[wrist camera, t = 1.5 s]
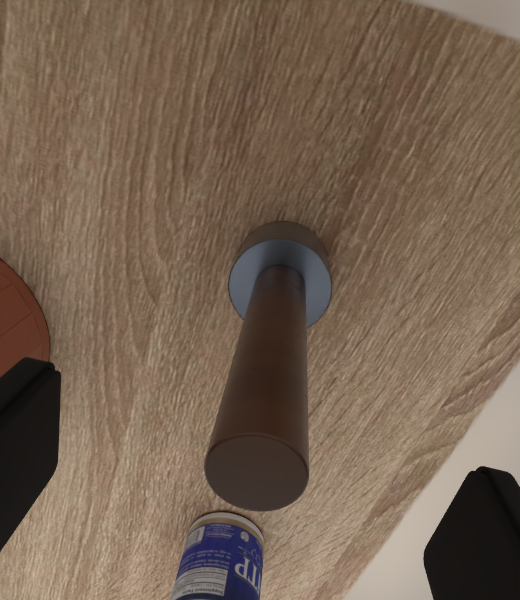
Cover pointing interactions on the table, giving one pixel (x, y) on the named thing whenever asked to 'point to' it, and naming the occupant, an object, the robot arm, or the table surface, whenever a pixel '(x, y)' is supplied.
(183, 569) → the pill bottle
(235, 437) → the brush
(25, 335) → the jar
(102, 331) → the table surface
